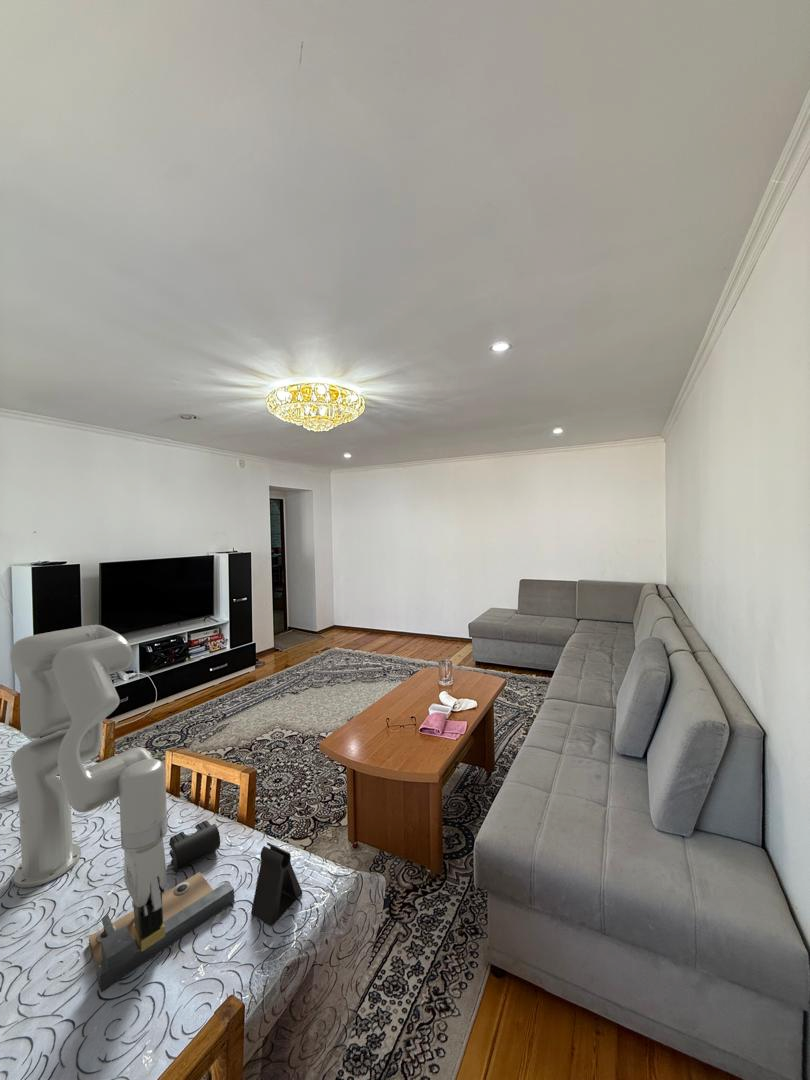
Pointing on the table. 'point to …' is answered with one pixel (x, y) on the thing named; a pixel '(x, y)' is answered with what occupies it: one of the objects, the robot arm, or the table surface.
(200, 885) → the plate
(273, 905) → the black triangular stand
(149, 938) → the block
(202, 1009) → the table surface
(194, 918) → the rail
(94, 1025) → the table surface
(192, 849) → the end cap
